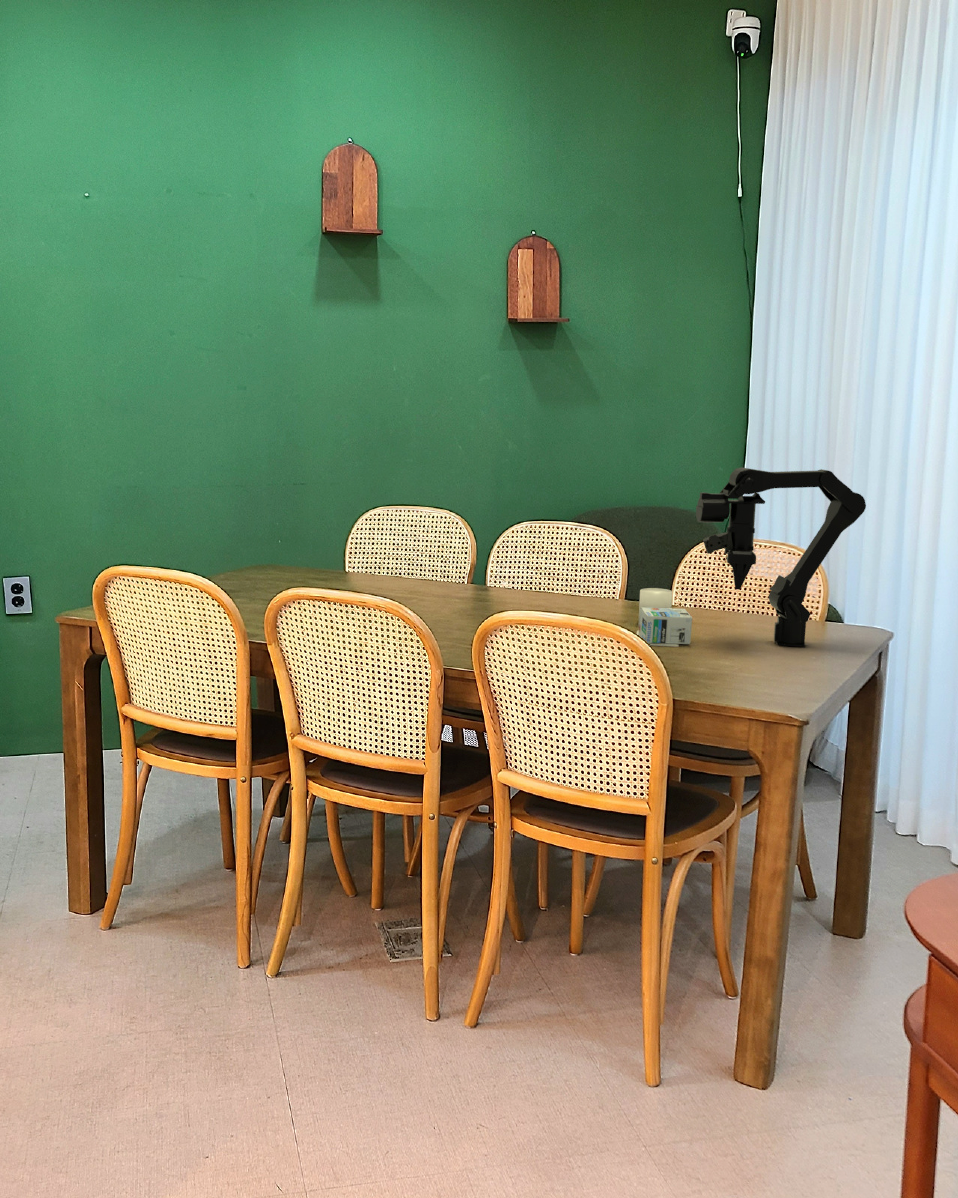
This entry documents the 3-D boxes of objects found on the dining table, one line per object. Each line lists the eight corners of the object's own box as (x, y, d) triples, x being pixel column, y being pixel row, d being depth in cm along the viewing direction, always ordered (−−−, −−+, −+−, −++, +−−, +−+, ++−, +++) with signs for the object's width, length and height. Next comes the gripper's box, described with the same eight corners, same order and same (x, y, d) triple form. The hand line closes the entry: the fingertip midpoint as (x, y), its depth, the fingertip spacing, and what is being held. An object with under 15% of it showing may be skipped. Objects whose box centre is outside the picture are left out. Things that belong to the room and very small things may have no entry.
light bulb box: (693, 616, 254) (646, 615, 254) (691, 645, 255) (644, 643, 255) (684, 607, 264) (639, 606, 264) (682, 635, 265) (637, 633, 265)
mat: (678, 634, 268) (678, 632, 268) (678, 646, 254) (678, 645, 254) (637, 632, 269) (637, 630, 269) (634, 644, 256) (634, 642, 256)
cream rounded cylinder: (670, 623, 281) (672, 588, 279) (670, 630, 273) (672, 594, 271) (639, 621, 282) (640, 587, 280) (637, 628, 274) (639, 592, 273)
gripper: (705, 517, 264) (701, 581, 267) (707, 525, 246) (703, 594, 249) (752, 518, 262) (748, 583, 265) (758, 527, 244) (753, 596, 247)
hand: (737, 589), depth 256 cm, fingers closed
